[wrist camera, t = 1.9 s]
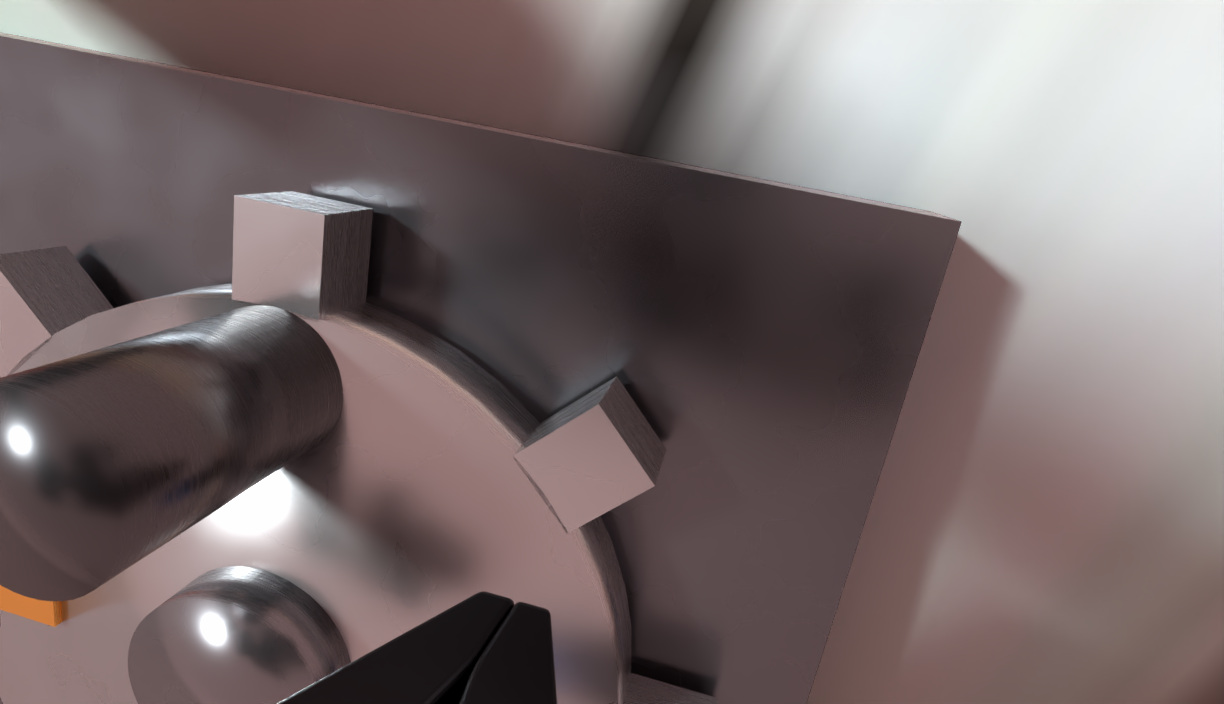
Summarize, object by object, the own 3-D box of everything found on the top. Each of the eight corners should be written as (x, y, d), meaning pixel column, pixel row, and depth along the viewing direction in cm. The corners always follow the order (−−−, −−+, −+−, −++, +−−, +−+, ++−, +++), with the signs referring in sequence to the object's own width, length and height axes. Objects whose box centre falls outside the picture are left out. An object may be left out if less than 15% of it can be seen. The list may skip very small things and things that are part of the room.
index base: (31, 750, 25) (-160, 906, 20) (-25, 27, 18) (-341, -25, 13) (692, 982, 22) (671, 1241, 17) (929, 211, 15) (1020, 240, 10)
